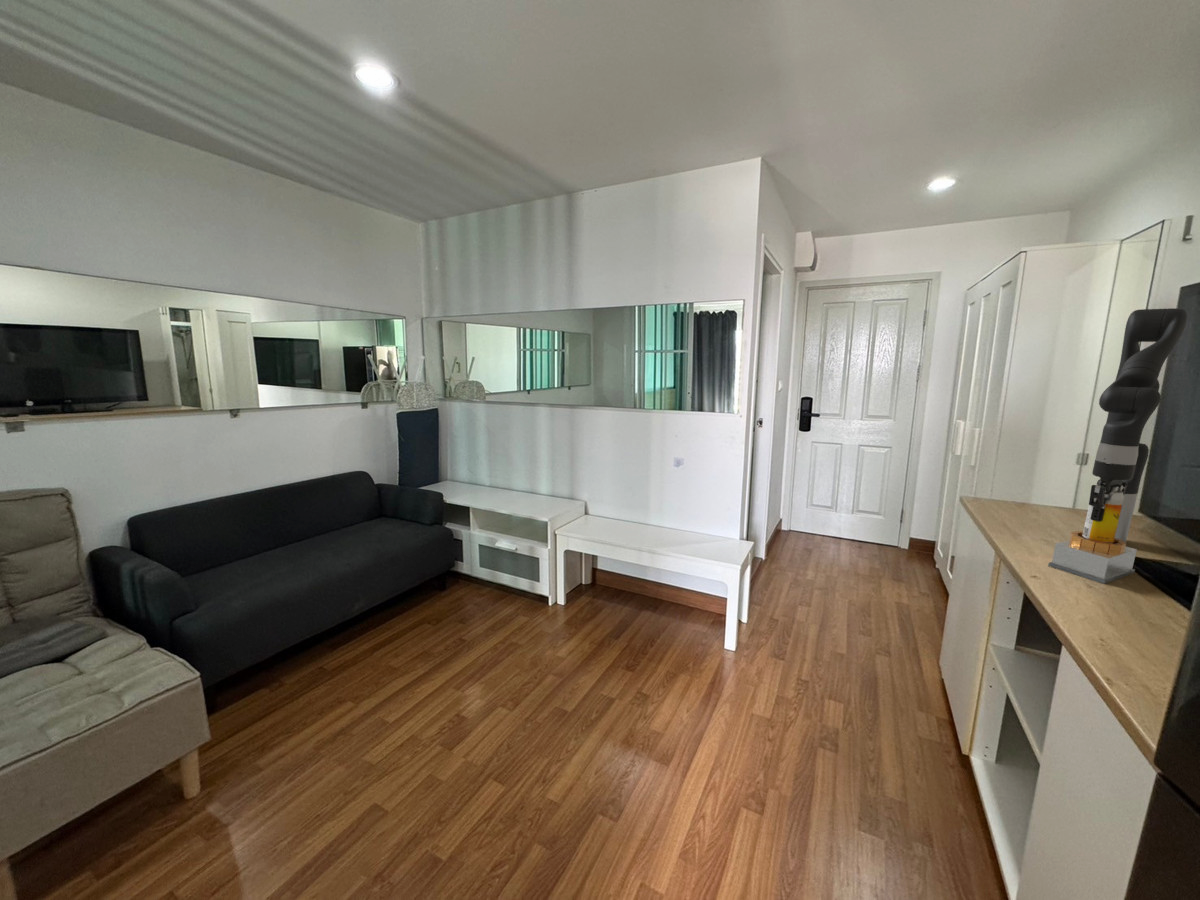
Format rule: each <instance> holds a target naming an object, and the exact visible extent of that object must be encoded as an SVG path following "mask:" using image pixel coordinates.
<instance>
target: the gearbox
mask: <svg viewBox="0 0 1200 900" xmlns="http://www.w3.org/2000/svg"><path fill="white" fill-rule="evenodd" d="M1083 531H1084V530H1083ZM1083 531H1080V530H1077V531H1076V530H1075V531H1072V532H1070V535H1069V539H1067V540H1064V541H1060V542H1056V543H1055V545H1054V550H1053V556H1052V560H1051V562H1048V565H1047V566H1048V567H1050V566H1051V567H1050V568H1053V567H1054V569H1056V568H1057V570H1059V569H1060V571H1062V570H1063V572H1065V573H1068V574H1071V575H1075V576H1078V577H1082V578H1084V579H1087V580H1090V579H1091V581H1094V582H1097V583H1100V584H1104V585H1106V584H1108V583H1110V582H1113V581H1115V580H1119V579H1121V578H1123V577H1126V576H1129V575H1132V574H1135V572H1136V569H1135V568H1133V567H1134V563H1135V558H1136V555H1137V551H1138V550H1137V548H1133V547H1130V546H1129V547H1128V546H1127V542H1126V543H1125V542H1124V541H1122V540H1120V539H1117V538H1114V542H1112V543H1102V542H1096V541H1092V540H1088V539H1085V538H1084V537H1083V536H1082V535H1083Z"/></svg>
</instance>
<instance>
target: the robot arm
mask: <svg viewBox="0 0 1200 900" xmlns="http://www.w3.org/2000/svg"><path fill="white" fill-rule="evenodd" d="M1187 319H1188V313H1187V311H1186V310H1185V309H1184V308H1143V309H1135V310H1134V311H1132V312H1131V313H1130V315H1129V316H1128V318H1127V321H1126V325H1125V328H1124V334H1123V341H1122V348H1121V354H1120V355H1121V356H1120V360H1119V365H1118V369H1117V370H1118V371H1117V373H1116V377H1115V380H1114V381H1113V382H1112V383H1111V384H1110V385H1109V386H1108V387H1106V388H1105V390H1103V392H1102V393H1101V395H1100V396H1099V399H1098V404H1099V407H1100V408H1101V410H1103V411H1104V412H1107V417H1106V423H1105V424H1104V426H1103V428H1102V434H1101V438H1100V442H1099V445H1098V447H1097V450H1096V455H1095V459H1094V463H1093V467H1092V472H1091V473H1092V476H1095V477H1098V478H1099V479H1098V480H1097V482H1096V484H1092V485H1091V488H1090V495H1089V499H1088V500H1089V501H1088V506H1089V505H1091V506H1092V507H1093V510H1092V514H1091V520H1094V521H1098V522H1100V521H1103V517H1104V512H1105V508H1106V506H1107V503H1108V502H1110V501H1111V499H1112V496H1113V494H1114V493H1116V492H1121V491H1122V492H1123V495H1124V500H1123V504H1122V508H1121V513H1120V517H1119V521H1118V526H1117V530H1116V534H1115V538H1117V539H1120V540H1122V541H1124V542H1125V543H1126V544H1127V539H1128V536H1129V531H1130V526H1131V522H1132V519H1133V515H1134V510H1135V506H1136V502H1137V497H1138V493H1139V489H1140V484H1141V479H1142V476H1143V473H1144V471H1145V466H1146V464H1147V461H1148V458H1149V451H1150V450H1149V447H1148V445H1147V444H1145V443H1141V439H1142V438H1141V437H1142V434H1143V431H1144V428H1145V426H1146V424H1147V423H1148V421H1149V419H1150V417H1151V416H1152V414H1153V413H1154V412H1155V410H1157V407H1158V406H1159V404H1160V403H1161V400H1162V397H1161V396H1162V395H1161V393H1160V392H1159V391H1160V381H1159V379H1158V378H1159V376H1160V373H1161V370H1162V367H1163V365H1164V364H1165V362H1166V360H1167V358H1168V357H1169V356H1170V354H1171V353H1172V351H1173V349H1174V348H1175V347H1176V344H1177V343H1178V341H1179V340H1180V339H1181V336H1182V335H1183V333H1184V330H1185V327H1186V325H1187ZM1141 342H1142V343H1152V344H1151V345H1149V346H1146V347H1145V348H1143V349H1141V348H1140V343H1141ZM1105 494H1109V496H1108V497H1105ZM1098 499H1099V502H1097V501H1098Z"/></svg>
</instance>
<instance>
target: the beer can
mask: <svg viewBox="0 0 1200 900" xmlns="http://www.w3.org/2000/svg"><path fill="white" fill-rule="evenodd" d="M1108 496H1109V494H1105V497H1108ZM1123 500H1124V495H1123V492H1122V491H1121V492H1116V493H1114V494H1113V496H1112V499H1111V501H1110V502H1108V503H1107V506H1106V508H1105V512H1104V517H1103V521H1100V522H1098V521H1094V520H1091V514H1092V510H1093V507H1092V506H1091V505H1089V504H1088V509H1087V512H1086V517H1085V522H1084V527H1083V535H1082V536H1083V537H1084V538H1085V539H1088V540H1092V541H1096V542H1102V543H1112V542H1114V538H1115V534H1116V530H1117V526H1118V521H1119V517H1120V513H1121V508H1122V504H1123ZM1097 502H1099V499H1098V501H1097Z"/></svg>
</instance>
